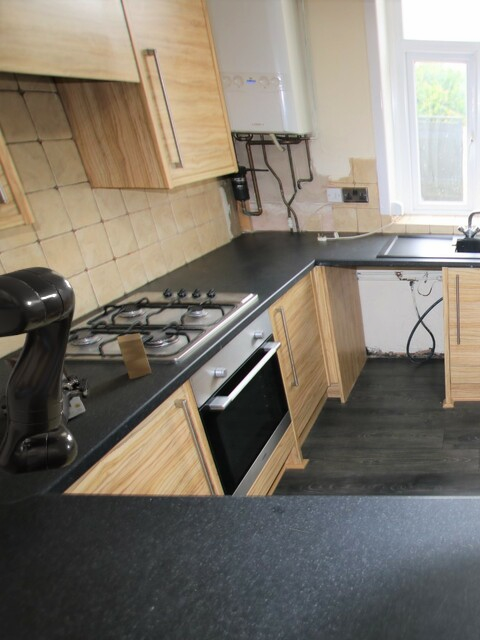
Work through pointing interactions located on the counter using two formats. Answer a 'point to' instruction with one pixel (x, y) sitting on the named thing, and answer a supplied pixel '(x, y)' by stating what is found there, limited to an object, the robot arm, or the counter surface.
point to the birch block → (134, 355)
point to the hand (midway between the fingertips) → (49, 383)
